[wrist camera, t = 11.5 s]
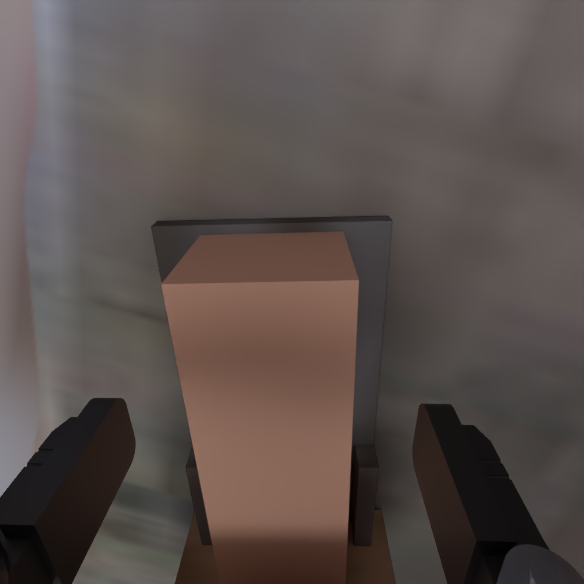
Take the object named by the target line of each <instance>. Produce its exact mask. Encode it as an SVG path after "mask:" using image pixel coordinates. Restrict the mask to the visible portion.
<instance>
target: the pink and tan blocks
mask: <svg viewBox="0 0 584 584" xmlns="http://www.w3.org/2000/svg"><path fill="white" fill-rule="evenodd" d="M151 229H152V234H153V239H154V244H155V250H156V255H157V260H158V265H159V270H160V276H161V281H162V283H163V281H164V280H165V279H166V278H167V276H168V275H169V274H170V273H171V271H172V270H173V269H174V267H175V266H176V265H177V264H178V262H179V261H180V260H181V259H182V257H183V256H184V255H185V254H186V252H187V251H188V250H189V249H190V247H191V246H192V245H193V244H194V242H195V241H196V240H197V239H198V237H199V236H200V235H226V234H265V233H305V232H344V235H345V238H346V241H347V245H348V248H349V251H350V254H351V257H352V260H353V263H354V266H355V269H356V273H357V276H358V279H359V290H358V313H357V335H356V358H355V381H354V403H353V426H352V449H351V471H350V494H349V517H348V539H347V562H346V584H396V582H395V577H394V572H393V567H392V562H391V557H390V551H389V546H388V541H387V536H386V531H385V526H384V520H383V515H382V510H375V501H376V490H377V480H378V469H379V467H378V463H377V458H376V453H375V448H374V436H375V424H376V412H377V400H378V387H379V375H380V363H381V351H382V339H383V327H384V314H385V302H386V290H387V278H388V266H389V254H390V241H391V229H392V220H391V219H390V217H389V216H361V217H318V218H276V219H233V220H190V221H157V222H156V223H155V224H153V225H152V226H151ZM186 472H187V477H188V482H189V486H190V491H191V496H192V501H193V505H194V514H193V518H192V522H191V525H190V529H189V533H188V537H187V540H186V544H185V548H184V551H183V555H182V559H181V563H180V566H179V570H178V574H177V578H176V581H175V584H220V581H219V576H218V571H217V566H216V561H215V556H214V551H213V546H212V541H211V536H210V530H209V525H208V520H207V515H206V510H205V505H204V500H203V495H202V490H201V485H200V479H199V474H198V469H197V464H196V459H195V454H194V449H193V447H192V450H191V453H190V456H189V459H188V462H187V465H186Z"/></svg>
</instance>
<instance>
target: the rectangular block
mask: <svg viewBox="0 0 584 584" xmlns="http://www.w3.org/2000/svg"><path fill="white" fill-rule="evenodd" d="M161 286H162V291H163V296H164V301H165V306H166V311H167V316H168V322H169V327H170V332H171V337H172V342H173V347H174V352H175V357H176V362H177V367H178V373H179V378H180V383H181V388H182V393H183V398H184V403H185V408H186V413H187V418H188V423H189V429H190V434H191V439H192V444H193V449H194V454H195V459H196V464H197V469H198V474H199V479H200V485H201V490H202V495H203V500H204V505H205V510H206V515H207V520H208V525H209V530H210V536H211V541H212V546H213V551H214V556H215V561H216V566H217V571H218V576H219V581H220V584H346V562H347V539H348V517H349V494H350V471H351V449H352V426H353V403H354V381H355V358H356V335H357V313H358V290H359V279H358V276H357V273H356V269H355V266H354V263H353V260H352V257H351V254H350V251H349V248H348V245H347V241H346V238H345V235H344V232H305V233H265V234H226V235H200V236H199V237H198V239H197V240H196V241H195V242H194V244H193V245H192V246H191V247H190V249H189V250H188V251H187V252H186V254H185V255H184V256H183V257H182V259H181V260H180V261H179V262H178V264H177V265H176V266H175V267H174V269H173V270H172V271H171V273H170V274H169V275H168V276H167V278H166V279H165V280H164V281H163V283H162V284H161Z"/></svg>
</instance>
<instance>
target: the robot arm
mask: <svg viewBox="0 0 584 584" xmlns="http://www.w3.org/2000/svg"><path fill="white" fill-rule="evenodd" d="M135 446H136V442H135V436H134V432H133V428H132V425H131V421H130V417H129V413H128V409H127V405H126V402H125V401H124V399H122V398H93V399H91V400H90V401H89V402H88V404H87V405H86V406H85V408H84V409H83V410H82V412H81V413H80V414H79V416H78V417H71V418H69V419H68V420H67V421H65V422H64V423H63V424H61V425H60V426H59V427H58V428H56V429H55V430H54V431H52V432H51V434H50V435H49V436H48V437H47V439H46V440H45V441H44V443H43V444H42V445H41V446H40V448H39V451H38V452H36V453H35V454H34V455H33V456H32V458H31V459H30V460H29V462H28V463H27V467H24V468H23V469H22V471H21V472H20V473H19V474H18V476H17V477H16V478H15V479H14V481H13V482H12V483H11V485H10V486H9V487H8V488H7V490H6V491H5V492H4V493H3V495H2V496H1V497H0V584H72V582H73V580H74V578H75V576H76V574H77V572H78V570H79V568H80V566H81V564H82V562H83V560H84V558H85V556H86V554H87V552H88V550H89V548H90V546H91V544H92V542H93V540H94V538H95V536H96V534H97V532H98V530H99V528H100V526H101V524H102V522H103V520H104V518H105V516H106V514H107V512H108V510H109V508H110V506H111V504H112V502H113V500H114V498H115V496H116V493H117V491H118V489H119V487H120V485H121V483H122V481H123V479H124V477H125V475H126V473H127V471H128V469H129V467H130V465H131V463H132V461H133V458H134V454H135ZM413 463H414V469H415V472H416V476H417V479H418V483H419V486H420V490H421V493H422V497H423V500H424V504H425V507H426V511H427V514H428V518H429V521H430V524H431V528H432V531H433V535H434V538H435V542H436V545H437V549H438V552H439V556H440V559H441V563H442V566H443V570H444V573H445V576H446V580H447V583H448V584H584V579H583V578H582V576H581V575H580V574H579V573H578V572H577V571H576V569H575V568H573V567H572V566H571V565H570V564H569V563H568V562H567V561H566V560H564V559H563V558H562V557H560V556H559V555H557V554H555V553H554V552H552V551H550V549H549V548H548V547H547V545H546V543H545V542H544V540H543V538H542V536H541V534H540V532H539V531H538V529H537V527H536V525H535V523H534V521H533V519H532V518H531V516H530V514H529V512H528V510H527V508H526V506H525V505H524V503H523V501H522V499H521V497H520V495H519V493H518V492H517V490H516V488H515V486H514V484H513V482H512V480H510V479H509V475H508V473H507V471H506V469H505V467H504V466H503V464H501V462H500V458H499V456H498V454H497V453H496V451H495V449H494V447H493V445H492V443H491V441H490V440H489V439H488V438H487V437H485V436H484V435H483V434H482V433H481V432H480V431H479V430H478V429H477V428H476V427H475V426H474V425H461V423H460V420H459V418H458V416H457V414H456V412H455V410H454V408H453V407H452V405H450V404H421V405H420V407H419V410H418V417H417V423H416V429H415V435H414V441H413Z"/></svg>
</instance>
